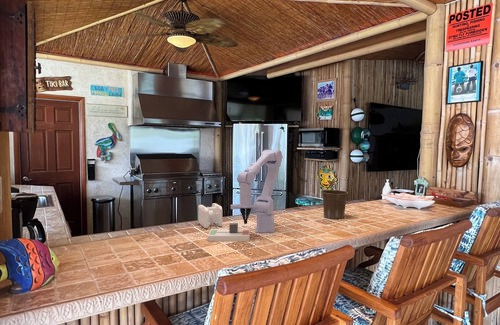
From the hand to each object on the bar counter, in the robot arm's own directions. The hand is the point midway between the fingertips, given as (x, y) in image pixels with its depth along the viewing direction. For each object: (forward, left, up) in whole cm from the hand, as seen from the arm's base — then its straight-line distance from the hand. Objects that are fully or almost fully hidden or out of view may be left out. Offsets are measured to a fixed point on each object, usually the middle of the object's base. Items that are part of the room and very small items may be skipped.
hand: (245, 223), depth 155 cm
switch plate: (+8, 0, -7) cm, 11 cm away
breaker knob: (+6, 0, -4) cm, 7 cm away
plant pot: (-54, -43, -7) cm, 70 cm away
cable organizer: (+21, -22, -7) cm, 31 cm away
